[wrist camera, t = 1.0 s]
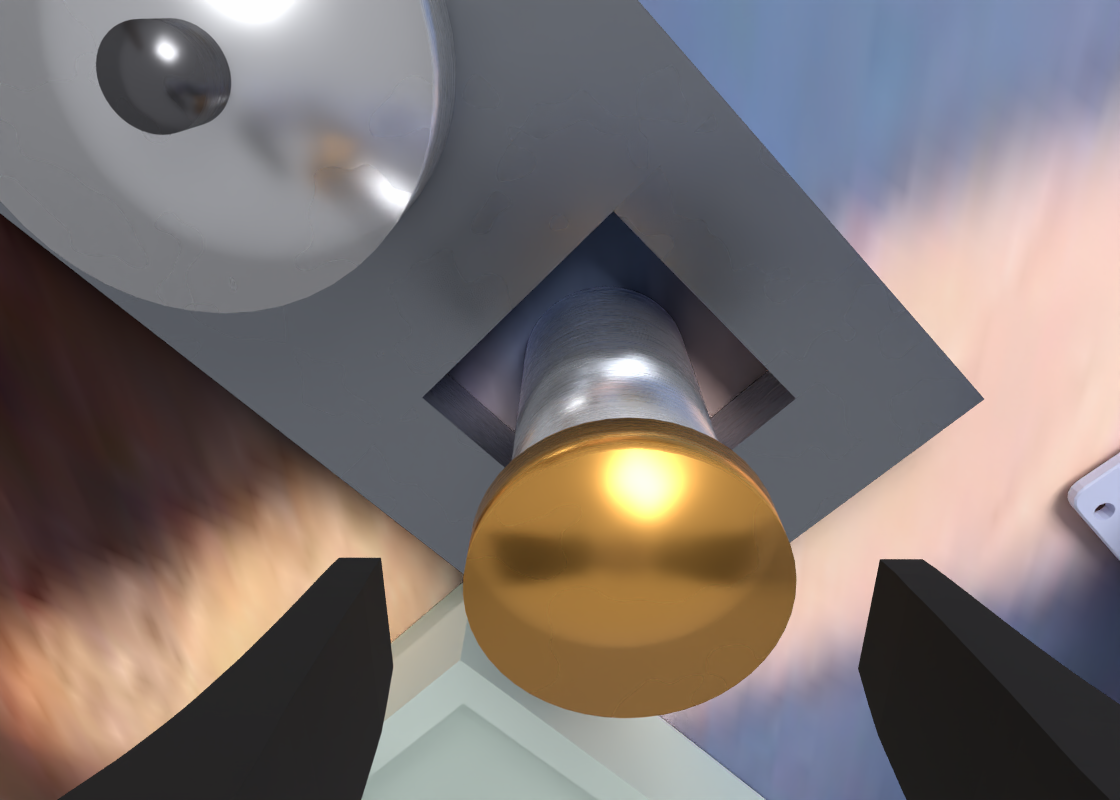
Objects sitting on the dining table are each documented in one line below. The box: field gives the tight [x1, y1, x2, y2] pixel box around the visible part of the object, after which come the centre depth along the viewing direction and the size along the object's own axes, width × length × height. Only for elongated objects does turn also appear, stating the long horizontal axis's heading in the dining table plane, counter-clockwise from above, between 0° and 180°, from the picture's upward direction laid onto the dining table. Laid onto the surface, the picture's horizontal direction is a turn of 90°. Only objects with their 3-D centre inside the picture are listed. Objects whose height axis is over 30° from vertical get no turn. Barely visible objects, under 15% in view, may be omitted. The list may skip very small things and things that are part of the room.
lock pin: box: [463, 286, 796, 718], centre depth 16 cm, size 5×5×9 cm
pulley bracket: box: [0, 0, 984, 574], centre depth 16 cm, size 22×12×6 cm, turn 45°
